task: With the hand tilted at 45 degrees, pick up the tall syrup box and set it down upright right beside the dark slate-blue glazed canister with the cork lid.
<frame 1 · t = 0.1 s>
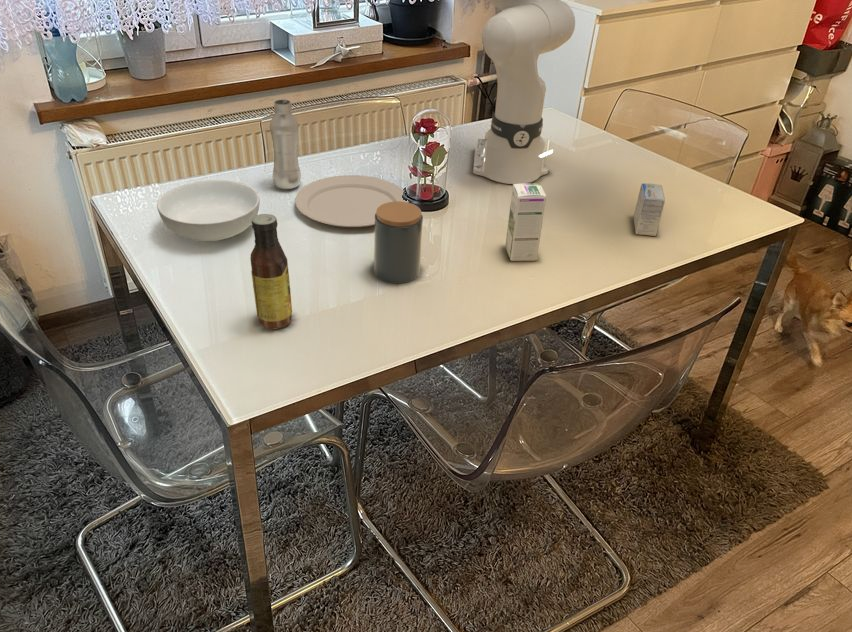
medicine box: (643, 228, 162), on the table
syrup box: (520, 255, 151), on the table
plastic bottle: (287, 187, 174), on the table
plate: (352, 207, 166), on the table
serving bowl: (212, 230, 156), on the table
sauce bottle: (274, 321, 130), on the table
canister: (396, 271, 144), on the table
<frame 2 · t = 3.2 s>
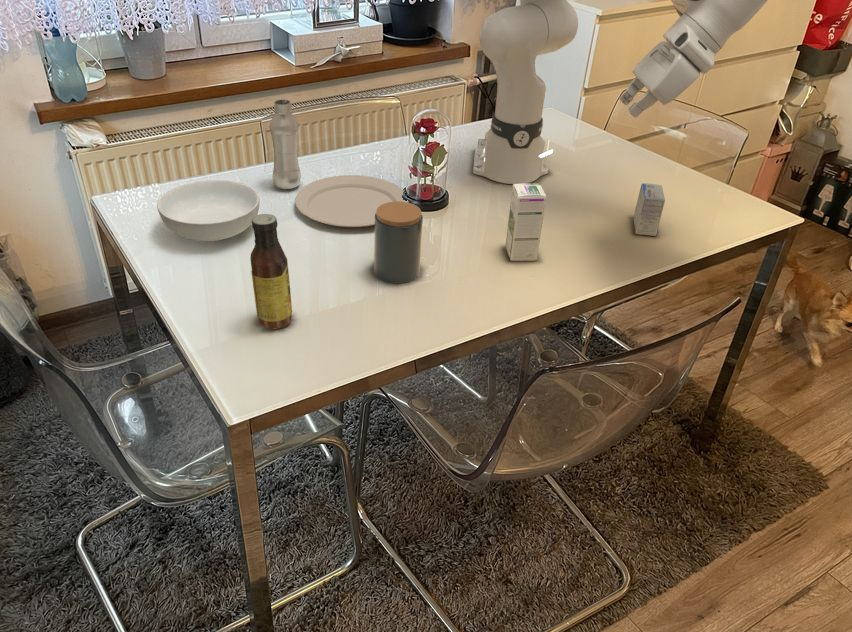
hand: (626, 108, 133), 30 cm above the table, tool tilted 35°, fingers open, 8 cm apart
nothing on the table moved.
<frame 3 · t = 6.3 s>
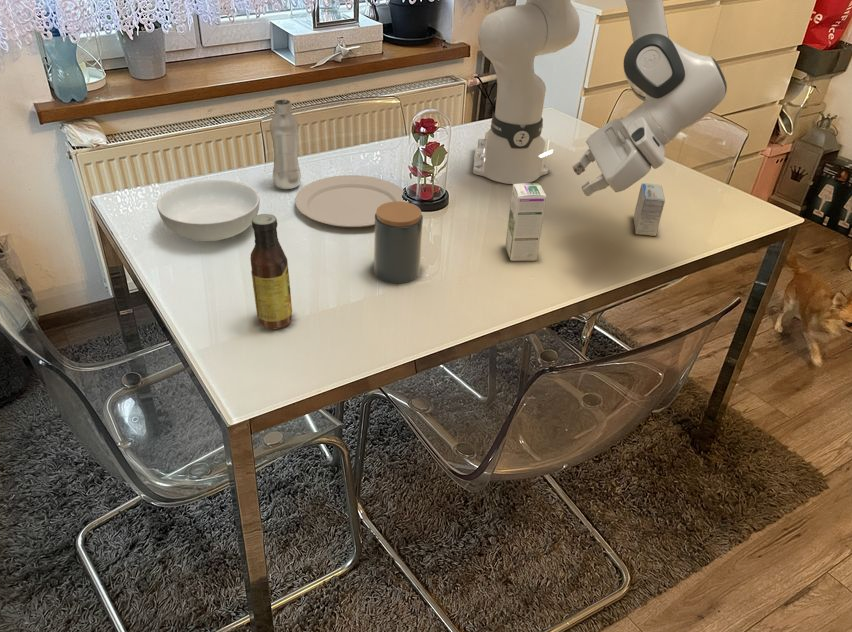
hand: (579, 181, 141), 16 cm above the table, tool tilted 45°, fingers open, 8 cm apart
nothing on the table moved.
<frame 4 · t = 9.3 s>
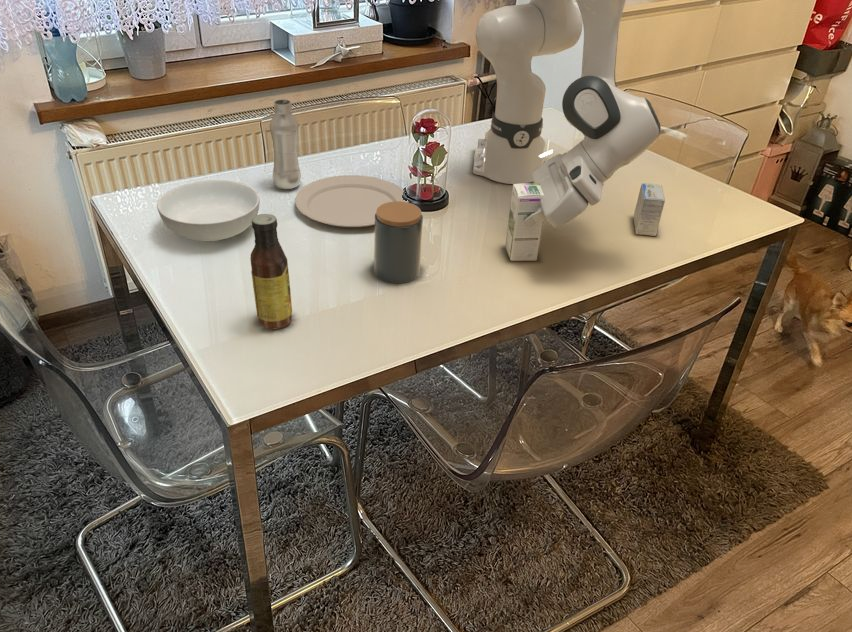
hand: (523, 215, 145), 9 cm above the table, tool tilted 45°, fingers closed on syrup box, 6 cm apart
syrup box: (520, 255, 151), on the table, touching gripper
everything else where it was.
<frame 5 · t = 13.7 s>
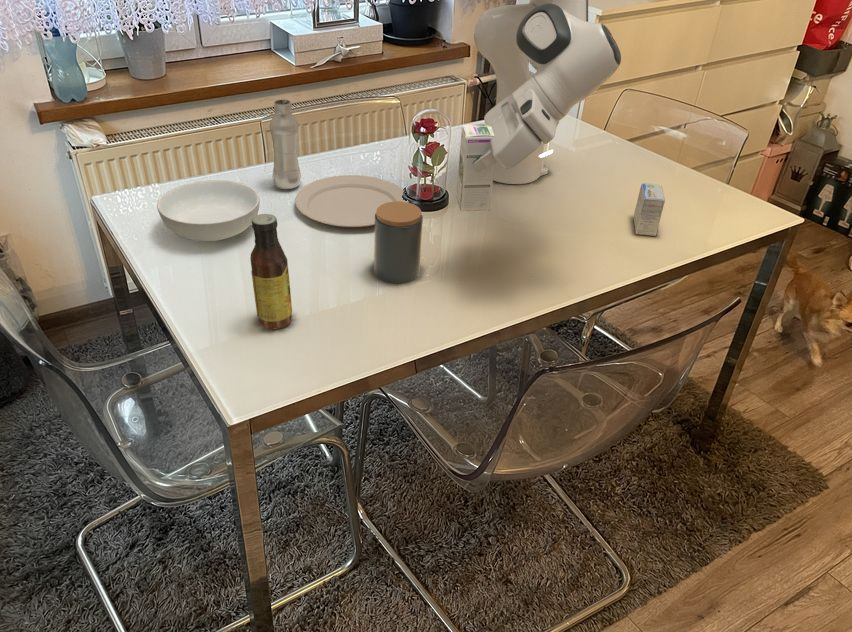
hand: (473, 159, 133), 22 cm above the table, tool tilted 45°, fingers closed on syrup box, 6 cm apart
syrup box: (472, 205, 138), point 13 cm above the table, touching gripper
everything else where it was.
when the fingers open (9 cm above the table, at t = 18.3 s): syrup box stays where it is, on the table.
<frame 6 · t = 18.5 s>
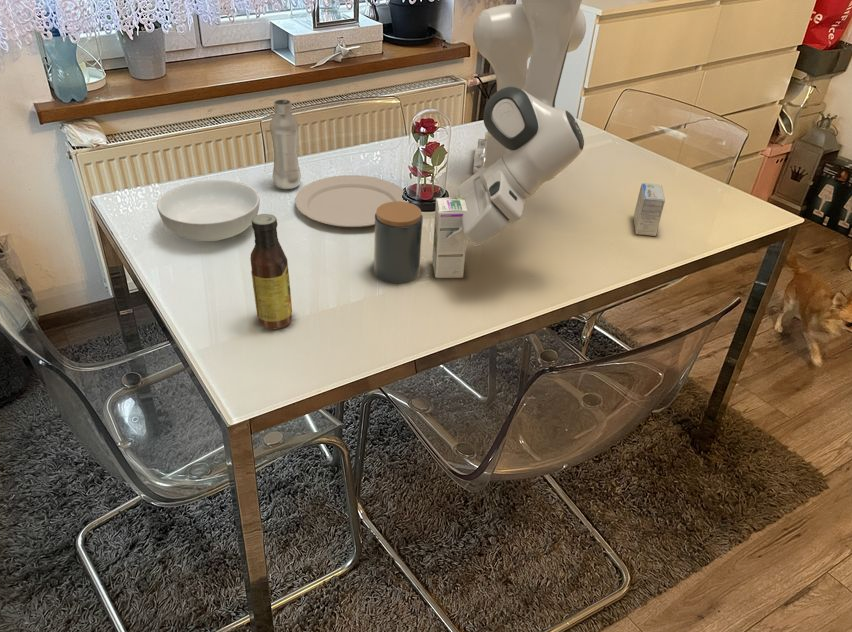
hand: (447, 231, 140), 9 cm above the table, tool tilted 45°, fingers open, 7 cm apart
syrup box: (447, 271, 145), on the table
everything else where it was.
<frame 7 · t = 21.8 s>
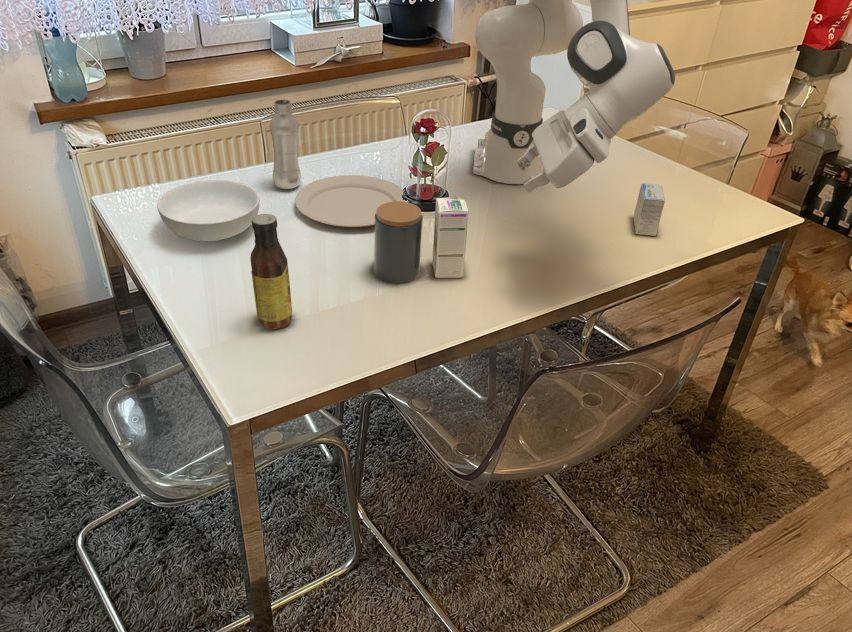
hand: (522, 176, 133), 20 cm above the table, tool tilted 45°, fingers open, 8 cm apart
nothing on the table moved.
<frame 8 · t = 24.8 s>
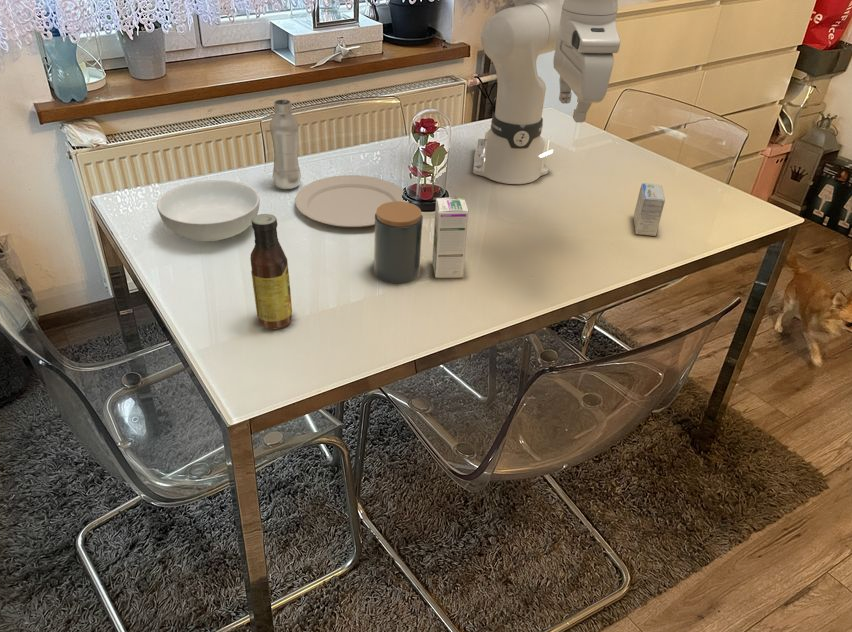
hand: (571, 111, 129), 31 cm above the table, tool pointing down, fingers open, 8 cm apart
nothing on the table moved.
at the end: syrup box 10.0 cm from the canister (horizontally); syrup box tilted 0°; the gripper is holding nothing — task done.
